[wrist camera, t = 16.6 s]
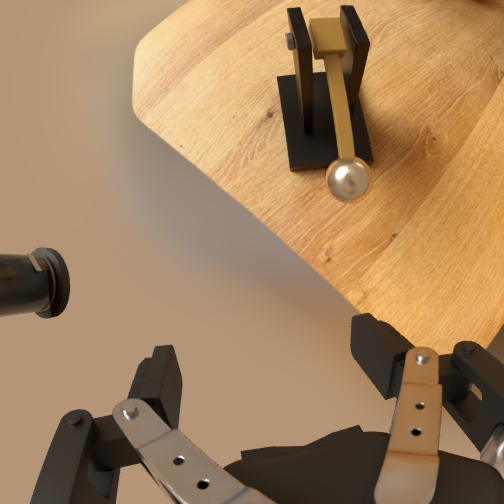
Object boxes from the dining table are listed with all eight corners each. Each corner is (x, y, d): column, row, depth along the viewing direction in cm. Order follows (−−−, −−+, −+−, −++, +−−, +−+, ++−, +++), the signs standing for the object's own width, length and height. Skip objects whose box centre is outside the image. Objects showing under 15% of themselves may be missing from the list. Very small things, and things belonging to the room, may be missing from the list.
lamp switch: (368, 197, 23) (380, 206, 19) (325, 200, 23) (330, 210, 20) (343, 30, 18) (350, 14, 14) (299, 32, 18) (299, 15, 15)
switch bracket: (371, 164, 30) (415, 88, 14) (290, 171, 31) (273, 94, 16) (349, 76, 30) (363, -19, 15) (277, 82, 32) (254, -14, 16)
